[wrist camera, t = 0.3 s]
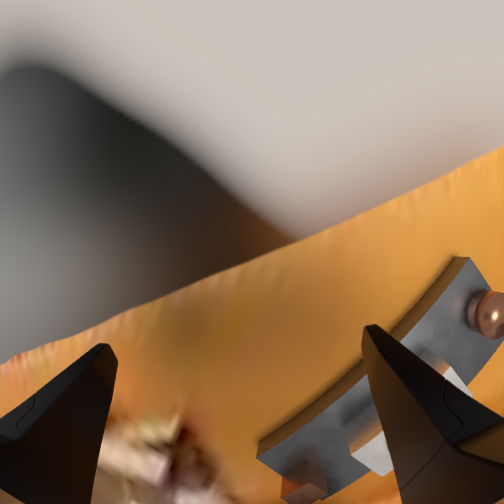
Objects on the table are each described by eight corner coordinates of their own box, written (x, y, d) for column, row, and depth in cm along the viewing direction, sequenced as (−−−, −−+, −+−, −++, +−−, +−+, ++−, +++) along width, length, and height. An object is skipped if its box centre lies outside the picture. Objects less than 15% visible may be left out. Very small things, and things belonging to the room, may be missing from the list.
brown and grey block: (427, 348, 19) (456, 370, 14) (451, 377, 19) (478, 401, 14) (343, 426, 20) (352, 461, 15) (371, 448, 19) (384, 483, 15)
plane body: (454, 256, 21) (491, 258, 15) (498, 321, 20) (532, 334, 15) (259, 442, 23) (251, 479, 18) (320, 484, 22) (323, 521, 17)
